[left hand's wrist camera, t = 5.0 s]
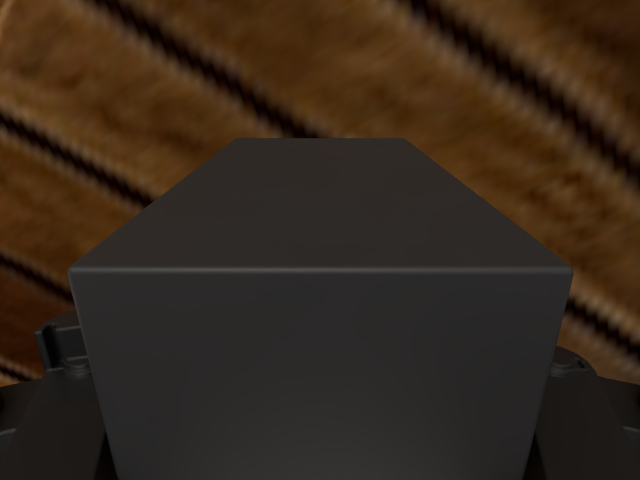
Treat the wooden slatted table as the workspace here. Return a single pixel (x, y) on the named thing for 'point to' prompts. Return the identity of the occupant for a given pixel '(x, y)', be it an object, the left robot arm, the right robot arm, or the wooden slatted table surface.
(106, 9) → the wooden slatted table surface
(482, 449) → the bar
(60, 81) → the wooden slatted table surface
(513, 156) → the wooden slatted table surface
